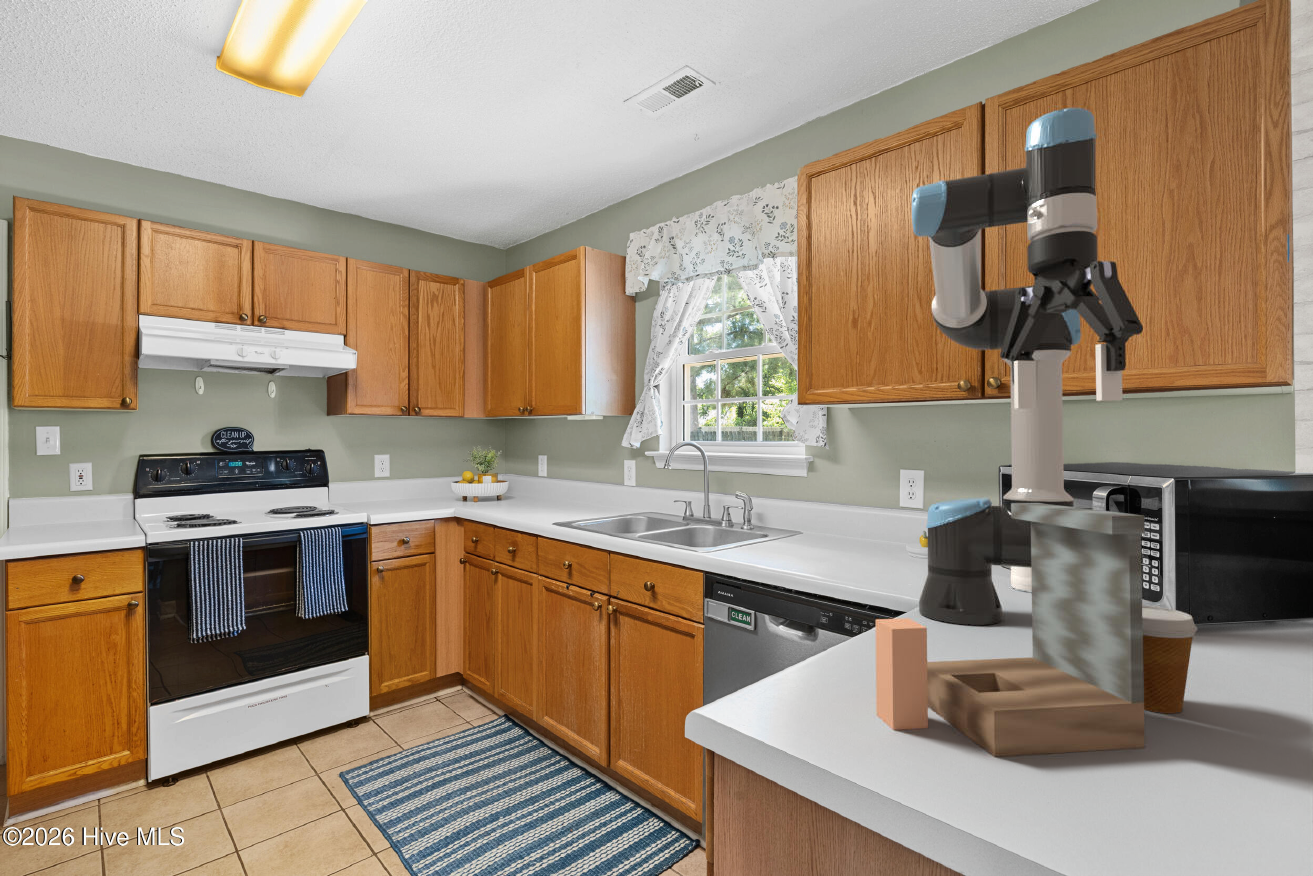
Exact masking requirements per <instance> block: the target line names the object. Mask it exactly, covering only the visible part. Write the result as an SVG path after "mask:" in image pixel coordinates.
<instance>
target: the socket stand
mask: <svg viewBox="0 0 1313 876" xmlns="http://www.w3.org/2000/svg"><path fill="white" fill-rule="evenodd" d="M1145 517H1146V516H1145V515H1142V514H1141V515H1140V514H1134V513H1125V512H1118V511H1117V512H1116V511H1109V510H1101V509H1100V510H1099V509H1093V508H1085V507H1084V508H1083V507H1077V508H1076V506H1075V507H1067V506H1059V505H1050V504H1042V503H1011V518H1014V519H1021V520H1027V521H1031V571H1032V593H1031V620H1032V621H1031V623H1032V625H1031V627H1032V628H1031V629H1032V630H1031V632H1032V639H1031V640H1032V656H1030V657H1011V658H1010V657H1009V658H991V659H990V658H988V659H984V658H983V659H972V660H971V659H965V660H964V659H963V660H944V661H943V660H941V661H927V688H928V709H930V708H931V709H932V712H934V713H935V712H936V714H937V715H938V716H939V715H940V716H939V717H941V718H942V717H943V718H944V719H943V718H942V719H943V720H945V719H946V720H947V721H948V722H947V721H946V720H945V721H946V722H947V723H949V724H950V725H951V724H952V726H953V727H954V728H955V729H957V730H958V731H959V732H961V733H962V734H963V735H965V736H966V737H967V738H969V739H970V740H972V741H973V742H974V743H976V744H977V745H978V746H980V747H981V748H982V749H984V750H985V751H986V752H987V753H989V754H990V755H991V756H993V757H994V758H996V757H997V758H999V757H1000V758H1001V757H1012V756H1014V757H1015V756H1016V757H1017V756H1030V755H1045V754H1046V755H1047V754H1060V753H1076V752H1078V753H1079V752H1094V751H1107V750H1111V751H1112V750H1126V749H1141V748H1143V749H1144V748H1145V710H1144V680H1143V622H1142V605H1143V572H1142V571H1143V570H1142V568H1143V567H1142V564H1143V563H1142V534H1145V533H1146V531H1145V530H1146V528H1145V527H1146V524H1145V519H1146V518H1145ZM931 709H930V710H931Z"/></svg>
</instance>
